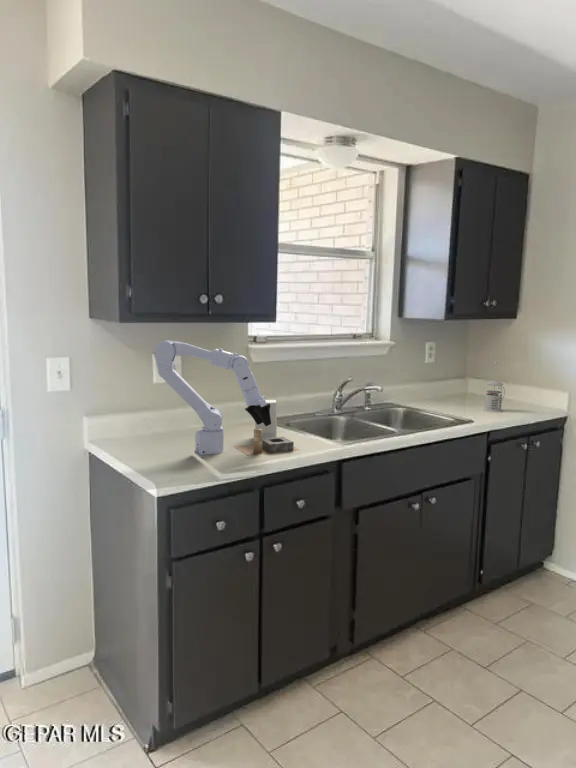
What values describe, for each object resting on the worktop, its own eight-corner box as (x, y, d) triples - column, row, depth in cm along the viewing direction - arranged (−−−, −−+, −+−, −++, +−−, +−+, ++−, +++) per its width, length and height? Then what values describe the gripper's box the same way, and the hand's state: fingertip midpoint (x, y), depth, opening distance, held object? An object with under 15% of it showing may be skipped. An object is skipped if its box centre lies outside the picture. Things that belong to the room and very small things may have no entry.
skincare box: (276, 438, 230) (276, 399, 228) (276, 442, 224) (277, 402, 222) (254, 438, 230) (255, 399, 228) (254, 442, 224) (254, 402, 221)
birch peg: (255, 453, 203) (255, 430, 202) (252, 451, 206) (252, 429, 205) (263, 452, 204) (263, 430, 203) (260, 450, 207) (260, 428, 206)
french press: (478, 409, 301) (481, 360, 298) (494, 407, 307) (497, 360, 303) (493, 412, 293) (496, 362, 289) (509, 411, 298) (513, 361, 295)
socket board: (247, 458, 200) (247, 446, 200) (233, 449, 213) (233, 438, 212) (300, 453, 209) (300, 441, 208) (283, 444, 221) (283, 433, 221)
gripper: (267, 384, 198) (282, 420, 201) (252, 383, 212) (266, 418, 214) (249, 392, 196) (264, 429, 198) (235, 391, 209) (249, 426, 211)
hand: (264, 424), depth 206 cm, fingers open, 7 cm apart
